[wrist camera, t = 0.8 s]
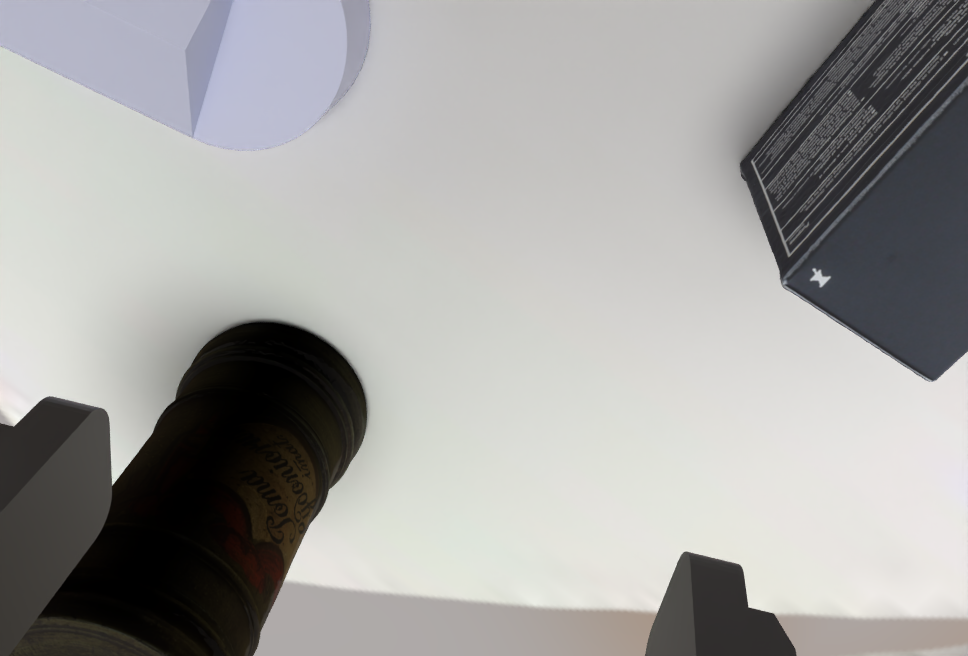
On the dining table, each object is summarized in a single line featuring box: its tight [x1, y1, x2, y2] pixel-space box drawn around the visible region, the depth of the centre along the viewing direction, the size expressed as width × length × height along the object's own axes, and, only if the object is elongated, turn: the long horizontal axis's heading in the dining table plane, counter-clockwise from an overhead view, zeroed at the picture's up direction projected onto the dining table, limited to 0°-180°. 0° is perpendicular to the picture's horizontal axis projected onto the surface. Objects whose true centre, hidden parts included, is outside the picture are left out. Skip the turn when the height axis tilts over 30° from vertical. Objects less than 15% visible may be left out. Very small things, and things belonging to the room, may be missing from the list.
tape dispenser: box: [0, 0, 371, 151], centre depth 33 cm, size 9×7×13 cm
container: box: [9, 322, 367, 656], centre depth 37 cm, size 9×9×18 cm
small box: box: [740, 0, 968, 382], centre depth 30 cm, size 11×6×10 cm, turn 148°
